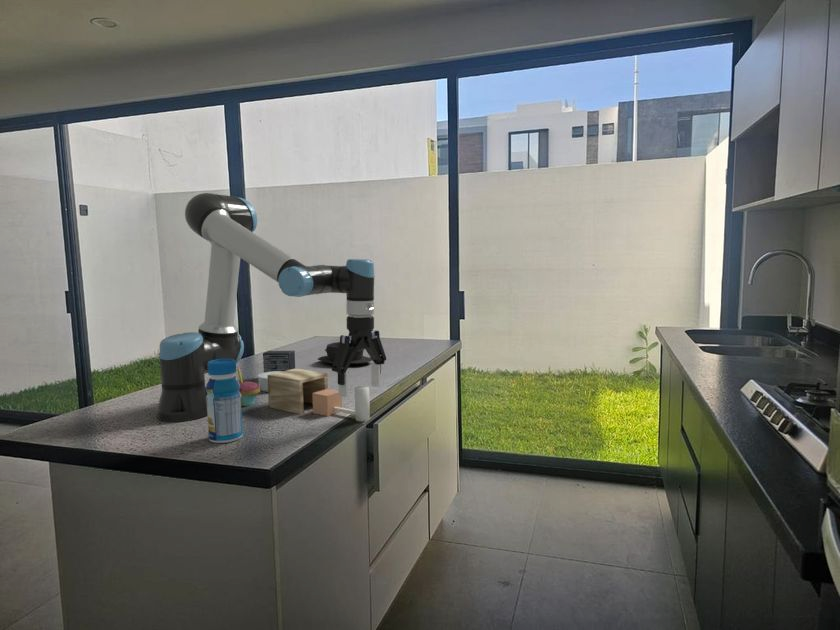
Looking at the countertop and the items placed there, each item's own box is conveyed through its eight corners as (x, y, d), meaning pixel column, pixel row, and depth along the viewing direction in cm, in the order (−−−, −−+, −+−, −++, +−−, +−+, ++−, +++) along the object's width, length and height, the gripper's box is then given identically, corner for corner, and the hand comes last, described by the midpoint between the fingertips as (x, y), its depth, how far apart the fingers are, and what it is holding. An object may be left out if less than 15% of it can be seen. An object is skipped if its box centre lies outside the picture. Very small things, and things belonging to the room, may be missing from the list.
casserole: (381, 361, 237) (381, 342, 236) (357, 369, 221) (357, 349, 220) (334, 357, 248) (333, 339, 248) (308, 365, 232) (307, 345, 231)
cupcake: (231, 408, 166) (229, 369, 165) (232, 401, 174) (231, 364, 173) (260, 406, 168) (258, 368, 167) (260, 399, 177) (259, 362, 175)
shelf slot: (300, 414, 159) (299, 380, 158) (268, 407, 167) (267, 375, 166) (328, 405, 169) (327, 373, 167) (296, 398, 177) (295, 368, 175)
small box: (296, 377, 209) (295, 349, 208) (291, 380, 203) (289, 353, 202) (269, 376, 210) (268, 349, 209) (263, 380, 204) (262, 352, 203)
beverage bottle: (230, 445, 133) (226, 364, 131) (200, 442, 136) (196, 363, 134) (250, 434, 142) (246, 358, 139) (221, 432, 144) (217, 357, 142)
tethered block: (361, 423, 150) (360, 391, 149) (313, 413, 160) (312, 383, 159) (375, 417, 155) (374, 386, 154) (327, 408, 165) (326, 379, 164)
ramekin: (279, 394, 184) (279, 378, 183) (251, 392, 187) (250, 376, 186) (297, 386, 194) (296, 371, 194) (270, 384, 198) (269, 370, 197)
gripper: (338, 321, 138) (339, 403, 140) (398, 312, 158) (398, 384, 161) (317, 318, 142) (318, 398, 144) (378, 310, 162) (378, 380, 165)
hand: (360, 391), depth 152 cm, fingers open, 13 cm apart
